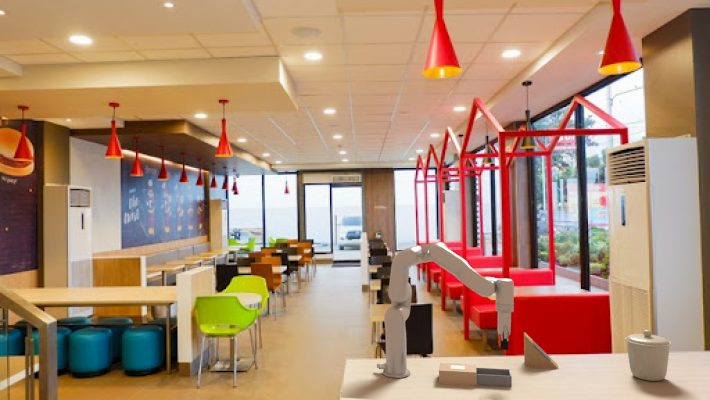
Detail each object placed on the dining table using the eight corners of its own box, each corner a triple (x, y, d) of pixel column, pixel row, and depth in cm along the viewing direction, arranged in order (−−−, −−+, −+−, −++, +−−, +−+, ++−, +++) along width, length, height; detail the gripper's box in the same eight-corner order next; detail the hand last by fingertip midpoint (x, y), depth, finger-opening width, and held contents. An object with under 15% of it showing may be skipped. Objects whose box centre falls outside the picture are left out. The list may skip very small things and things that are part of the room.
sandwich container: (559, 369, 242) (559, 337, 242) (525, 367, 246) (524, 335, 246) (557, 364, 250) (556, 333, 251) (524, 361, 254) (523, 331, 255)
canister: (669, 373, 234) (668, 327, 234) (674, 386, 217) (673, 336, 217) (624, 368, 241) (623, 323, 241) (626, 381, 225) (625, 332, 225)
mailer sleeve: (439, 384, 224) (438, 370, 224) (440, 375, 235) (440, 362, 235) (476, 386, 221) (476, 372, 221) (476, 377, 232) (475, 364, 232)
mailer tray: (475, 384, 222) (475, 374, 222) (474, 377, 231) (474, 367, 231) (511, 386, 219) (511, 376, 219) (509, 379, 228) (509, 369, 228)
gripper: (494, 303, 232) (494, 344, 232) (496, 310, 217) (496, 353, 217) (512, 304, 230) (511, 345, 230) (515, 311, 216) (515, 355, 216)
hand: (504, 349), depth 224 cm, fingers closed
